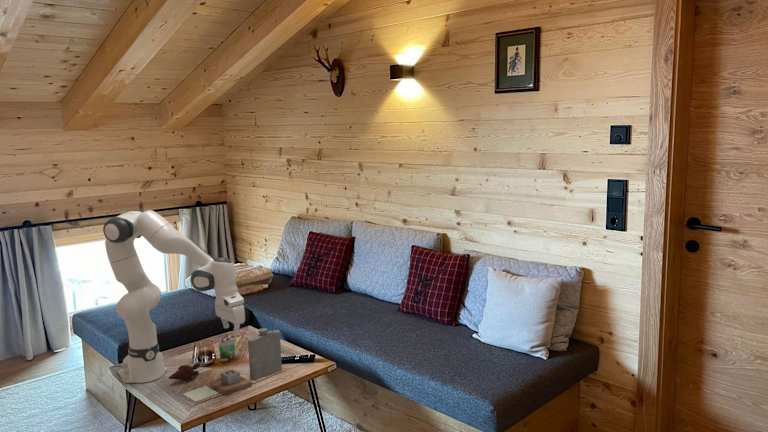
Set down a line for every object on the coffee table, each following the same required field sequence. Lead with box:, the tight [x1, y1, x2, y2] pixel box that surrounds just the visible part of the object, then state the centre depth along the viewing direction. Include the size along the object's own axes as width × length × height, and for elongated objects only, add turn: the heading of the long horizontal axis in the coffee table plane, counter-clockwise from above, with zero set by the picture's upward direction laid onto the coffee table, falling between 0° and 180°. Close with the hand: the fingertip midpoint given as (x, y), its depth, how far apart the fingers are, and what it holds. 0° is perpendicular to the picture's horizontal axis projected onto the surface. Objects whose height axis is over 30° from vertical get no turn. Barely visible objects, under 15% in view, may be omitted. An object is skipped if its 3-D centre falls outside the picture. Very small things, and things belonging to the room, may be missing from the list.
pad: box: [182, 385, 219, 403], centre depth 242 cm, size 10×10×1 cm
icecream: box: [168, 362, 201, 383], centre depth 255 cm, size 7×7×15 cm
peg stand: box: [209, 372, 253, 397], centre depth 248 cm, size 12×12×6 cm
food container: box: [218, 333, 237, 364], centre depth 277 cm, size 12×6×10 cm, turn 179°
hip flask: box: [247, 327, 283, 382], centre depth 258 cm, size 16×4×20 cm, turn 138°
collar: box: [220, 368, 241, 386], centre depth 247 cm, size 6×6×4 cm
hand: (231, 330), depth 245 cm, fingers open, 8 cm apart
